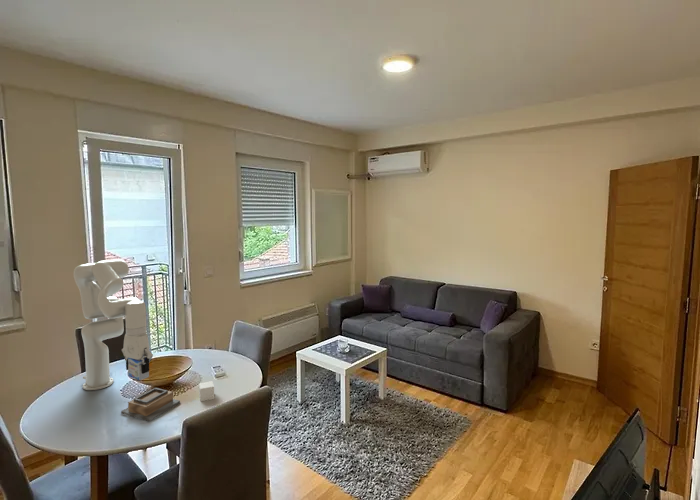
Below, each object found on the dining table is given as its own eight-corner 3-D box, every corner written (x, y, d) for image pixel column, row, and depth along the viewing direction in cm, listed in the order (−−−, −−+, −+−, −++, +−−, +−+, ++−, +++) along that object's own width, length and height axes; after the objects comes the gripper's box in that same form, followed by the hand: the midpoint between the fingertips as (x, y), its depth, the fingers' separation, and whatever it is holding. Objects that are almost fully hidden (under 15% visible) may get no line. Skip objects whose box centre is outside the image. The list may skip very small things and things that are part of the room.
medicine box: (128, 376, 159) (127, 356, 158) (138, 372, 163) (137, 353, 162) (139, 381, 156) (138, 361, 155) (149, 377, 159) (148, 357, 158)
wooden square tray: (121, 413, 158) (120, 399, 158) (152, 396, 173) (152, 383, 173) (150, 421, 153) (149, 407, 152) (180, 403, 168) (179, 390, 167)
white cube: (200, 401, 170) (199, 388, 169) (199, 395, 175) (199, 383, 175) (214, 398, 172) (214, 386, 172) (212, 393, 178) (212, 381, 177)
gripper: (113, 330, 157) (114, 370, 158) (143, 336, 150) (145, 377, 152) (129, 325, 164) (131, 364, 165) (159, 330, 157) (160, 370, 159)
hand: (137, 370), depth 159 cm, fingers closed on medicine box, 8 cm apart
